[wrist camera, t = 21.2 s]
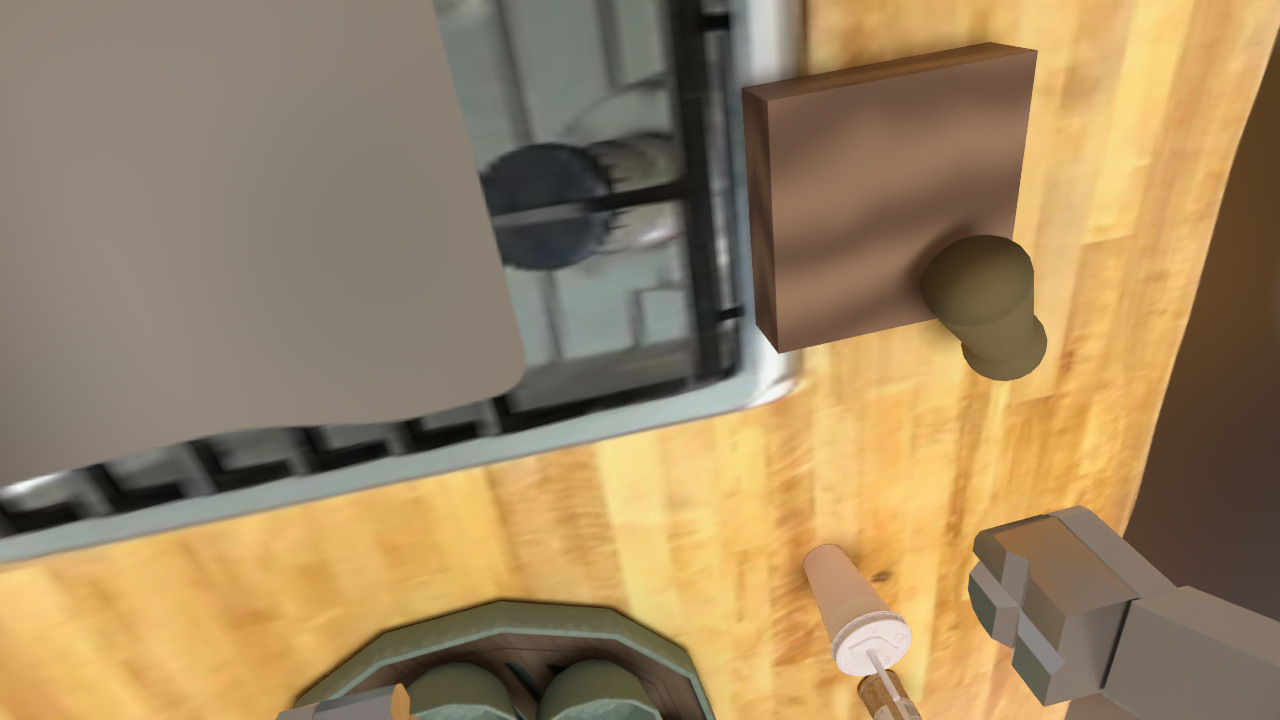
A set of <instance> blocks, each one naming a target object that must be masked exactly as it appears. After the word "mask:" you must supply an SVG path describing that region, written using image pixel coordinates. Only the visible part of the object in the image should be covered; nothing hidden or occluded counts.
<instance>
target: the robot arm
mask: <svg viewBox="0 0 1280 720" xmlns="http://www.w3.org/2000/svg"><path fill="white" fill-rule="evenodd" d="M973 552H974V553H975V554H976V556H977V557H978V558H979V559H980V561H979V562H978V563H977V565H976V566H975V567H974V568H973V570H972V571H971V572H970V573H969V585H968V591H969V595H970V599H971V603H972V607H973V609H974V611H975V613H976V615H977V617H978V619H979V621H980V623H981V624H982V626H983V627H984V628H985V630H986V631H987V633H988V634H989V635H990V637H991V638H992V639H994V640H996V641H998V642H1000V643H1002V644H1004V645H1006V646H1008V647H1010V648H1012V666H1013V667H1014V669H1015V670H1016V671H1017V672H1018V674H1019V675H1020V676H1021V678H1022V679H1023V680H1024V682H1025V683H1026V684H1027V686H1028V687H1029V688H1030V690H1031V691H1032V692H1033V693H1034V695H1035V696H1036V697H1037V699H1038V700H1039V701H1040V703H1041V704H1042V705H1043V707H1045V706H1049V705H1053V704H1056V703H1060V702H1064V701H1068V700H1072V699H1076V698H1080V697H1084V696H1087V695H1091V694H1095V693H1099V692H1103V694H1102V695H1103V696H1104V697H1106V698H1108V699H1109V700H1111V701H1112V702H1114V703H1115V704H1117V705H1119V706H1120V707H1122V708H1123V709H1125V710H1127V711H1128V712H1130V713H1132V714H1133V715H1135V716H1137V717H1138V718H1139V719H1141V720H1280V622H1277V621H1275V620H1272V619H1270V618H1267V617H1265V616H1262V615H1260V614H1257V613H1254V612H1252V611H1250V610H1247V609H1245V608H1242V607H1240V606H1237V605H1235V604H1232V603H1229V602H1227V601H1224V600H1222V599H1219V598H1217V597H1214V596H1212V595H1209V594H1207V593H1204V592H1202V591H1199V590H1197V589H1194V588H1192V587H1189V586H1186V587H1182V588H1177V587H1176V586H1174V585H1173V584H1172V583H1171V582H1170V581H1169V580H1168V579H1167V578H1166V577H1164V576H1163V575H1162V574H1161V573H1160V572H1159V571H1158V570H1156V569H1155V567H1153V566H1152V565H1151V564H1150V563H1149V562H1148V561H1147V560H1146V559H1144V558H1143V557H1142V556H1141V555H1140V554H1139V553H1138V552H1137V551H1136V550H1135V549H1133V548H1132V547H1131V546H1130V545H1129V544H1128V543H1127V542H1126V541H1124V540H1123V539H1122V538H1121V537H1120V536H1119V535H1118V534H1117V533H1116V532H1114V531H1113V530H1112V529H1111V528H1110V527H1109V526H1108V525H1107V524H1106V523H1104V522H1103V521H1102V520H1101V519H1100V518H1099V517H1098V516H1097V515H1096V514H1094V513H1093V512H1092V511H1091V510H1089V509H1087V508H1085V507H1083V506H1080V505H1079V506H1075V507H1071V508H1067V509H1063V510H1059V511H1055V512H1052V513H1048V514H1045V515H1037V516H1033V517H1030V518H1026V519H1023V520H1019V521H1015V522H1012V523H1008V524H1004V525H1001V526H997V527H994V528H990V529H986V530H983V531H980V532H979V534H978V535H977V536H976V537H975V540H974V546H973ZM409 707H410V697H409V696H408V694H407V692H406V690H405V688H404V686H403V685H402V683H401V684H396V685H391V686H387V687H383V688H378V689H374V690H370V691H366V692H361V693H357V694H353V695H348V696H344V697H340V698H335V699H331V700H327V701H323V702H319V703H315V704H311V705H307V706H303V707H299V708H295V709H291V710H286V711H282V712H280V713H279V715H278V716H277V718H276V720H420V719H419V718H417V717H414V716H412V715H410V714H409Z"/></svg>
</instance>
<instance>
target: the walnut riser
mask: <svg viewBox="0 0 1280 720" xmlns="http://www.w3.org/2000/svg"><path fill="white" fill-rule="evenodd" d="M1037 53H1038V50H1032V49H1026V48H1021V47H1015V46H1009V45H1003V44H997V43H992V42H988V43H983V44H978V45H972V46H967V47H961V48H956V49H951V50H945V51H940V52H934V53H929V54H924V55H918V56H913V57H907V58H902V59H896V60H891V61H886V62H880V63H875V64H869V65H864V66H859V67H853V68H848V69H842V70H837V71H832V72H826V73H821V74H815V75H810V76H804V77H799V78H794V79H788V80H783V81H777V82H772V83H767V84H761V85H756V86H750V87H745V88H742V102H743V118H744V135H745V151H746V168H747V184H748V201H749V218H750V234H751V251H752V267H753V284H754V300H755V317H756V325H757V326H758V327H759V329H760V330H761V331H762V333H763V334H764V335H765V337H766V338H767V339H768V341H769V342H770V343H771V345H772V346H773V347H774V348H775V350H776V351H777V352H778V354H780V353H784V352H789V351H793V350H797V349H802V348H806V347H811V346H815V345H820V344H824V343H829V342H833V341H837V340H842V339H846V338H851V337H855V336H860V335H864V334H868V333H873V332H877V331H882V330H886V329H891V328H895V327H899V326H904V325H908V324H913V323H917V322H922V321H926V320H931V319H935V318H937V317H936V316H935V315H934V314H933V313H932V312H931V311H930V309H929V308H928V306H927V305H926V303H925V302H924V297H923V293H922V283H923V277H924V273H925V271H926V269H927V268H928V266H929V264H930V262H931V261H932V259H933V258H934V257H935V256H936V255H937V254H938V253H939V252H940V251H941V250H942V249H944V248H946V247H947V246H949V245H951V244H952V243H954V242H956V241H958V240H961V239H964V238H967V237H970V236H974V235H995V236H1000V237H1005V238H1008V239H1010V240H1011V241H1012V238H1013V230H1014V223H1015V215H1016V208H1017V201H1018V193H1019V186H1020V178H1021V171H1022V164H1023V156H1024V149H1025V141H1026V134H1027V127H1028V119H1029V112H1030V104H1031V97H1032V90H1033V82H1034V75H1035V67H1036V60H1037Z"/></svg>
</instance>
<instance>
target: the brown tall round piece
mask: <svg viewBox="0 0 1280 720" xmlns="http://www.w3.org/2000/svg"><path fill="white" fill-rule="evenodd" d="M922 293H923V297H924V302H925V303H926V305H927V306H928V308H929V309H930V311H931V312H932V313H933V314H934V315H935V316H936V317H937V318H938V319H939V320H940V321H941V322H942V323H943V324H944V325H945V326H946V327H947V328H948V329H949V330H950V331H951V332H952V333H953V334H954V335H955V336H956V337H957V338H958V339H959V340H960V341H961V342H962V343H961V347H962V351H963V356H964V358H965V359H966V361H967V362H968V364H969V365H970V367H971V368H972V369H973V370H975V371H976V372H977V373H979V374H980V375H982V376H984V377H987V378H990V379H992V380H999V381H1009V380H1014V379H1019V378H1021V377H1023V376H1025V375H1027V374H1029V373H1031V372H1032V371H1033V370H1034V369H1035V368H1036V367H1037V366H1038V365H1039V364H1040V362H1041V360H1042V359H1043V357H1044V355H1045V352H1046V347H1047V337H1046V334H1045V330H1044V327H1043V325H1042V324H1041V322H1040V321H1039V320H1038V319H1037V317H1036V316H1035V315H1034V270H1033V266H1032V263H1031V260H1030V257H1029V255H1028V254H1027V253H1026V252H1025V251H1024V249H1023V248H1022V247H1021V246H1020V245H1018V244H1017V243H1015V242H1013V241H1011V240H1010V239H1008V238H1005V237H1000V236H995V235H974V236H970V237H967V238H964V239H961V240H958V241H956V242H954V243H952V244H951V245H949V246H947V247H946V248H944V249H942V250H941V251H940V252H939V253H938V254H937V255H936V256H935V257H934V258H933V259H932V261H931V262H930V264H929V266H928V268H927V269H926V271H925V273H924V277H923V283H922Z"/></svg>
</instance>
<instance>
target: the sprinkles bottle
mask: <svg viewBox="0 0 1280 720" xmlns="http://www.w3.org/2000/svg"><path fill="white" fill-rule="evenodd" d="M886 673H887V675H888V677H889V678H890V680H891V682H892V684H893V685H894V687H895V689H896V691H897V692H898V694H899V696H900V699H899V700H898V701H893V699H892V697H891V695H890V694H889V692H888V690H887V688H886V687H885V685H884V683H883V681H882V679H881V678H880V676H879V674H878V673H875V674H872V675H870V676H868V677H867V678H866V679H865V680H864V681H863V682H862V683H861V684H860V686H859V690H858V693H859V696H860V698H861V699H862V700H863V701H864V703H865V705H866V707H867V709H868V710H869V713H870V715H871V716H872V718H873V720H923V719H922V717H921V716H920V714H919V712H918V711H917V709H916V707H915V706H914V704H913V702H912V701H911V700H910V699H909V697H908V696H907V694H906V692H905V690H904V689H903V687H902V685H901V683H900V680H899V677H898V676H897V675H896V674H895V673H894V672H891V671H886Z"/></svg>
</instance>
